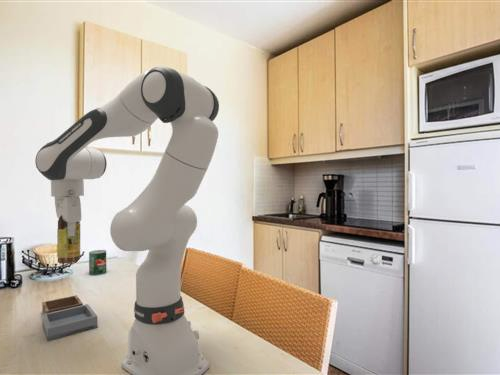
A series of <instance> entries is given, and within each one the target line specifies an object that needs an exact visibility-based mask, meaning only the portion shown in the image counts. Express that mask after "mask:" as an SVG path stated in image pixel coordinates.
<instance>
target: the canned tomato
mask: <svg viewBox="0 0 500 375" xmlns="http://www.w3.org/2000/svg"><path fill="white" fill-rule="evenodd" d="M88 273H89V276H92V277H93V276H102V275H106V274H107V250H106V249H95V250H91V251H89V252H88Z"/></svg>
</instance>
